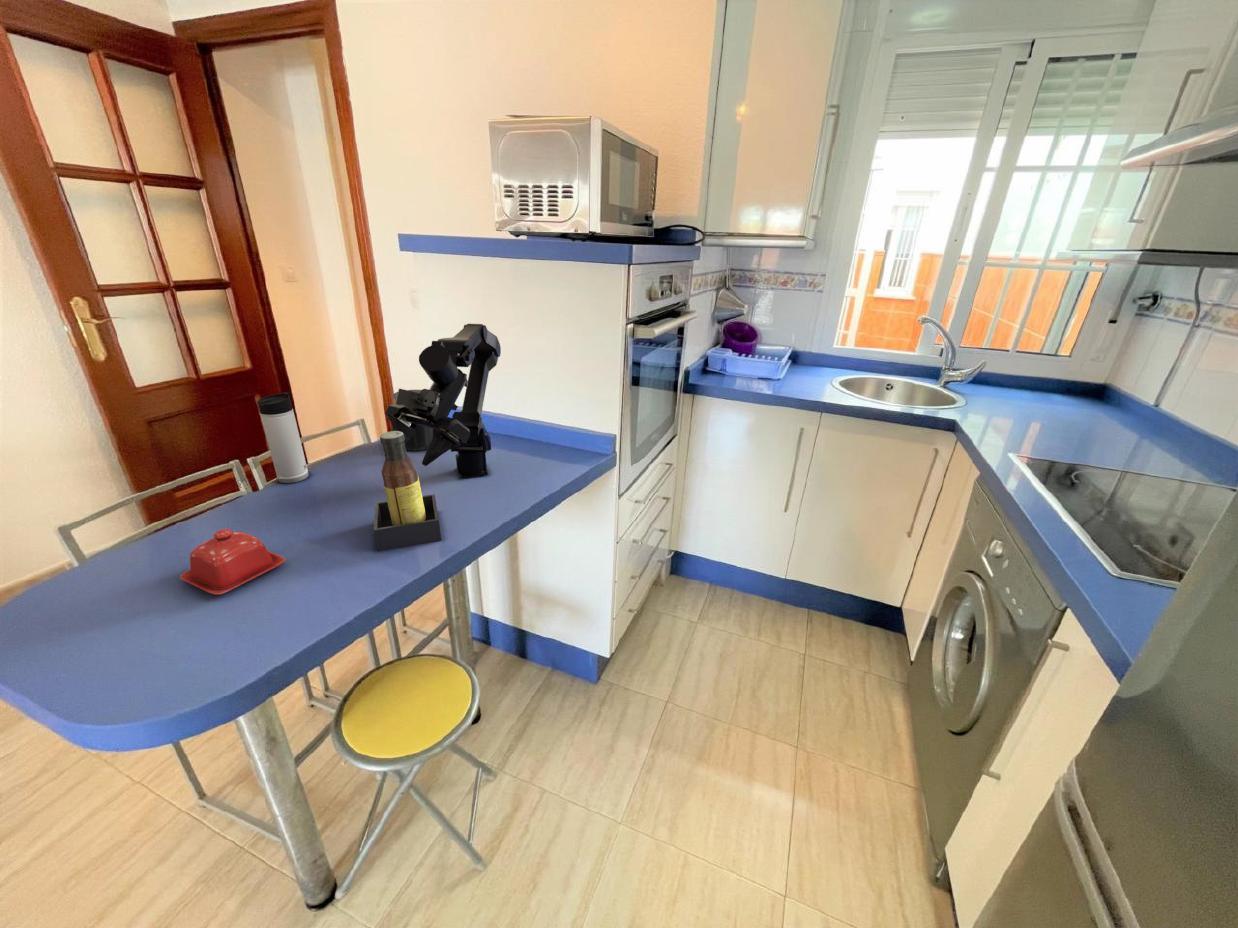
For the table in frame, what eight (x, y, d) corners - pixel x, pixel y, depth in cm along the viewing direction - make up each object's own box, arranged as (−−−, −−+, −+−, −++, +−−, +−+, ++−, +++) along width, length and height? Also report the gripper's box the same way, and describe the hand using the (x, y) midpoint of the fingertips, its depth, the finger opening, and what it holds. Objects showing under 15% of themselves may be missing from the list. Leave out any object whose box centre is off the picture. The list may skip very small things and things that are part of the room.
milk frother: (394, 444, 139) (385, 392, 133) (445, 431, 150) (440, 383, 144) (419, 459, 131) (411, 405, 125) (472, 444, 141) (467, 393, 135)
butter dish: (250, 548, 92) (237, 507, 88) (291, 565, 87) (279, 523, 84) (177, 582, 82) (160, 538, 79) (219, 604, 78) (202, 558, 74)
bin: (437, 512, 106) (434, 494, 104) (441, 540, 96) (438, 519, 95) (379, 521, 102) (375, 502, 100) (377, 551, 92) (373, 530, 90)
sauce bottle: (432, 521, 102) (419, 429, 94) (418, 537, 96) (403, 441, 88) (401, 519, 102) (385, 427, 94) (385, 535, 96) (367, 439, 88)
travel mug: (316, 475, 120) (297, 394, 112) (289, 485, 115) (267, 401, 107) (298, 469, 123) (279, 390, 115) (271, 480, 117) (249, 397, 109)
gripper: (385, 365, 101) (345, 432, 97) (453, 378, 93) (413, 452, 89) (421, 394, 111) (386, 456, 106) (485, 408, 103) (451, 476, 98)
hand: (407, 460), depth 100 cm, fingers open, 9 cm apart
